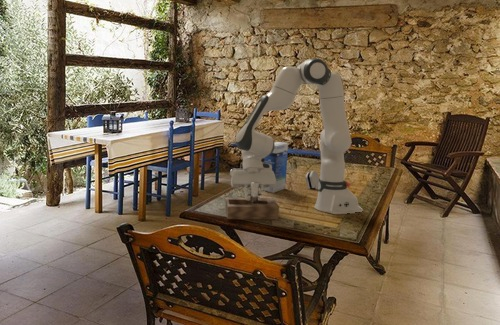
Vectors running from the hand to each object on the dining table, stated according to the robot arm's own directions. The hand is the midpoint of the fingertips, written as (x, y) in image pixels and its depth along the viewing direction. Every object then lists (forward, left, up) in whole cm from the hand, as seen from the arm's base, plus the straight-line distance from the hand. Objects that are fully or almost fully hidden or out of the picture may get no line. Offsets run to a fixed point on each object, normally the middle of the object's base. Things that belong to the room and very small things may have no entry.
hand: (254, 195), depth 188 cm
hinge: (-43, -55, -9) cm, 70 cm away
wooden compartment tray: (+1, -1, -9) cm, 9 cm away
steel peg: (0, -1, -7) cm, 7 cm away
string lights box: (-18, -46, -9) cm, 50 cm away
